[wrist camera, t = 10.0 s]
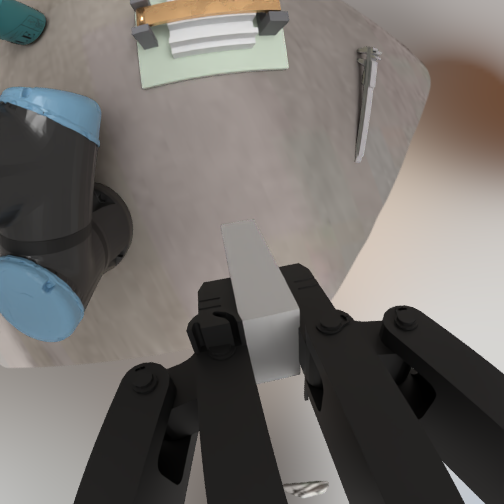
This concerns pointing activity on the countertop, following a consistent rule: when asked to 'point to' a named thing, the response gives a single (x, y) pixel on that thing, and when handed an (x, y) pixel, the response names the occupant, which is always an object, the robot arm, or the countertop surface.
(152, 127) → the countertop surface
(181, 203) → the countertop surface
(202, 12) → the bar
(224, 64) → the processor board
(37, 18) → the beverage bottle
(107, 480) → the robot arm
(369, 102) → the caliper
